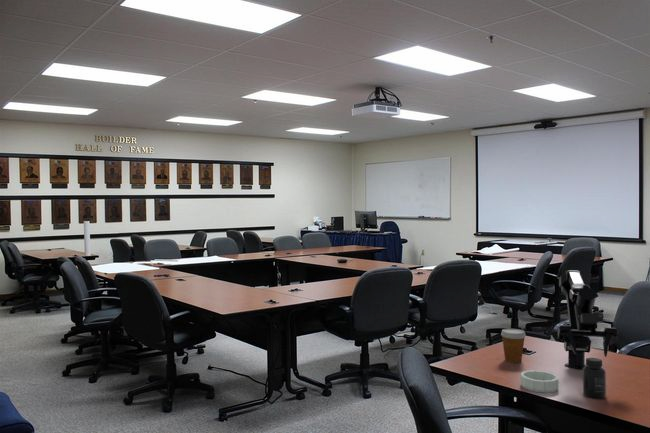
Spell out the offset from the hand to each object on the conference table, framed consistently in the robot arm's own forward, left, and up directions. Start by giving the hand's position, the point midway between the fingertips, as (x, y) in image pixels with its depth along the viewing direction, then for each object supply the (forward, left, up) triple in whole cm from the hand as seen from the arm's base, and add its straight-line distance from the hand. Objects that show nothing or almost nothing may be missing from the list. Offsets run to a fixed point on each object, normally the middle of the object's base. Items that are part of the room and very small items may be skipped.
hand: (590, 355), depth 181 cm
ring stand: (+10, -13, -12) cm, 20 cm away
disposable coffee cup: (-11, -37, -12) cm, 40 cm away
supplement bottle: (+4, +3, -12) cm, 13 cm away
